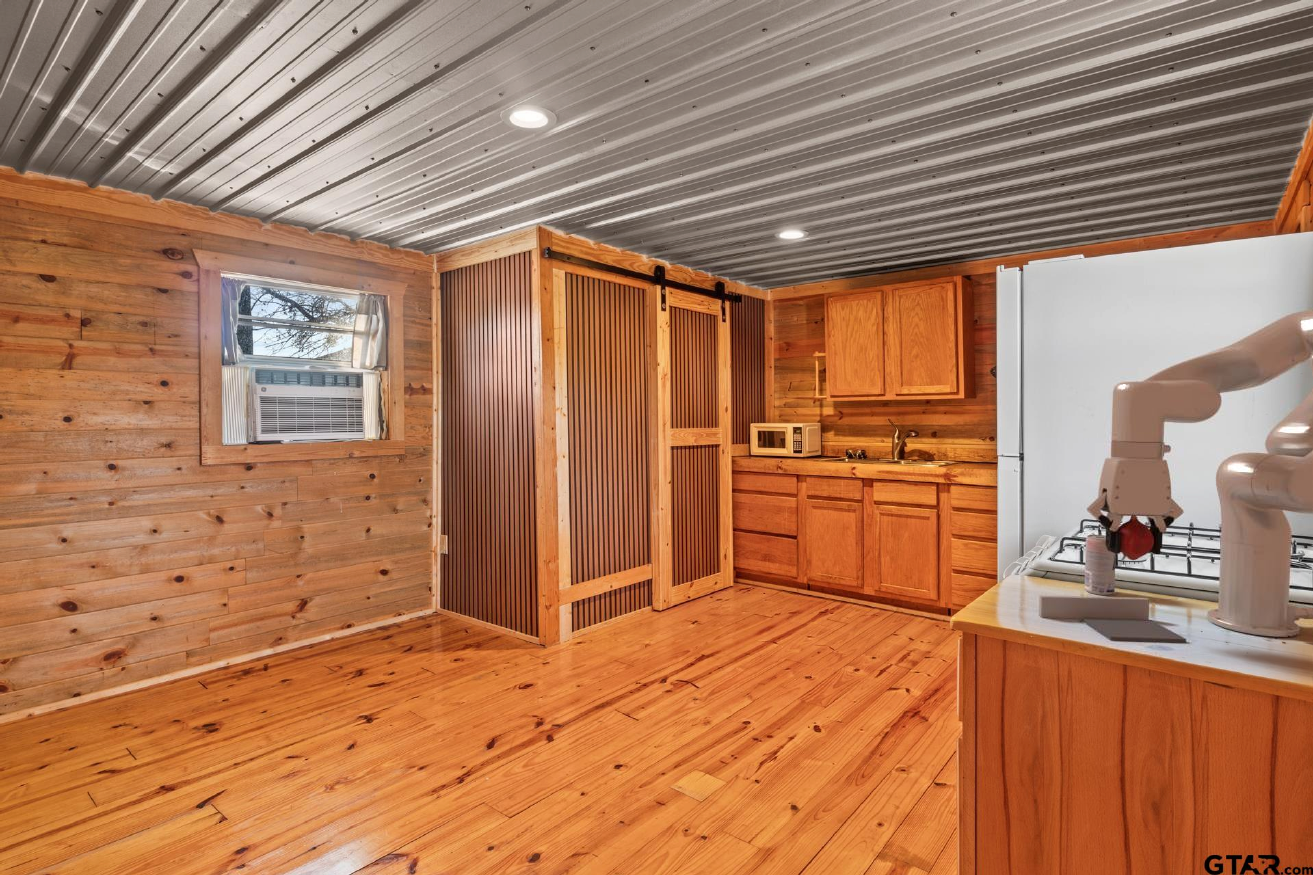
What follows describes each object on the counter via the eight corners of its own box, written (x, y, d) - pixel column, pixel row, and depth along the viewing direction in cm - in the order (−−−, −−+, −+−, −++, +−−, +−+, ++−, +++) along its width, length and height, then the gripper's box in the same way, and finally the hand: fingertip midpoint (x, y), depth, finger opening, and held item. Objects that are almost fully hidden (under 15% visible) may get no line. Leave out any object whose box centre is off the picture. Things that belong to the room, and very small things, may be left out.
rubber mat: (1150, 622, 124) (1150, 619, 124) (1186, 642, 114) (1186, 639, 114) (1081, 621, 126) (1081, 617, 126) (1110, 640, 116) (1110, 636, 116)
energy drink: (1113, 590, 145) (1115, 536, 144) (1115, 597, 140) (1116, 540, 140) (1084, 587, 148) (1085, 533, 147) (1084, 593, 143) (1086, 538, 142)
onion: (1160, 564, 116) (1161, 519, 115) (1122, 563, 117) (1124, 518, 117) (1142, 557, 122) (1144, 513, 121) (1107, 555, 123) (1108, 512, 122)
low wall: (1145, 618, 127) (1146, 597, 126) (1148, 620, 126) (1149, 599, 125) (1038, 615, 129) (1039, 595, 129) (1041, 617, 128) (1041, 596, 128)
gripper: (1176, 450, 121) (1172, 548, 122) (1074, 449, 123) (1071, 546, 124) (1204, 453, 113) (1200, 558, 114) (1095, 453, 116) (1092, 556, 117)
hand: (1133, 551), depth 119 cm, fingers closed on onion, 5 cm apart
